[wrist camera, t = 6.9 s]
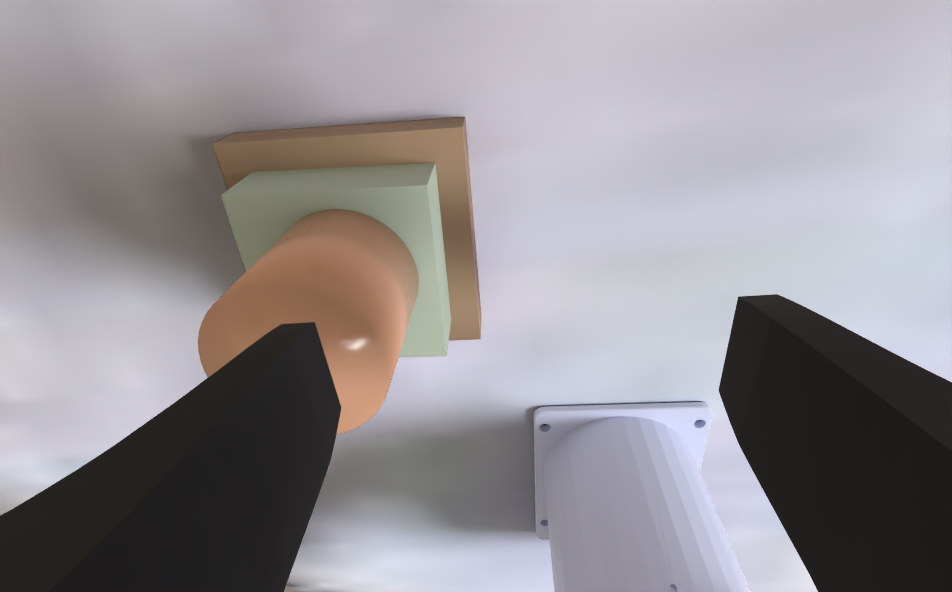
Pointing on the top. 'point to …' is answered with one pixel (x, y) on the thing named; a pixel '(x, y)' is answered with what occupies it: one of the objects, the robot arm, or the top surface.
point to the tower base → (374, 148)
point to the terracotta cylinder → (325, 304)
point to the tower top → (368, 192)
